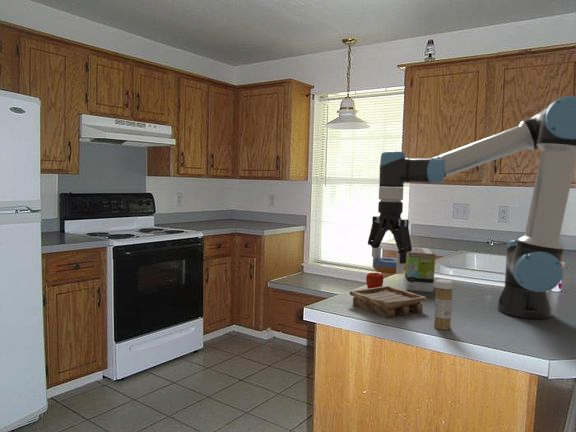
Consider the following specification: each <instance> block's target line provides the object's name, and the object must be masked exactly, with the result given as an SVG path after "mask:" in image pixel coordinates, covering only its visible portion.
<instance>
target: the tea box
mask: <svg viewBox="0 0 576 432" xmlns="http://www.w3.org/2000/svg"><path fill="white" fill-rule="evenodd" d="M404 267H405V268H404V284H405V289H406V291H414V292H427V293H430V292H431V293H432V292H434V287H435V286H434V285H435V283H434V282H435V269H436V268H435V267H436V253H435V252H434V251H433V249H431V248H423V247H412V251H411V252H407V253H406V263H404Z"/></svg>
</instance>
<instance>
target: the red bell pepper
mask: <svg viewBox="0 0 576 432" xmlns="http://www.w3.org/2000/svg"><path fill="white" fill-rule="evenodd" d="M365 282H366V286H367V288H366V289H369V288H376V287H383V284H384V275H383V273H381V272H369V273H367V274H366V280H365ZM379 292H380V291H379ZM372 293H373V292H372Z"/></svg>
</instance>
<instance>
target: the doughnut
mask: <svg viewBox="0 0 576 432" xmlns="http://www.w3.org/2000/svg"><path fill="white" fill-rule="evenodd" d="M396 260H397V257H396V258H395V257H385V256H384V257H383V256H381V258H377V259H375V260H374V261H373V260H372V268H373V270H374V271H376V272H377V273H381V274H396ZM404 269H405V266H404Z"/></svg>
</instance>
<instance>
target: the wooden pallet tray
mask: <svg viewBox="0 0 576 432" xmlns="http://www.w3.org/2000/svg"><path fill="white" fill-rule="evenodd" d="M379 291H380V292H379ZM372 292H373V293H372ZM349 296H352V305H353V306H355V307H357V308H361V309H363V310H366V311H368V312H371V313H373V314H375V315H379V316H380V317H383V316H384V318H386V319H389V320H390V318H391V319H395V314H397V313H398V314H397V315H400V314H401V315H400V316H402V317H403V316H404V317H406V316H405V315H407V316H409V315H410V311H411V312H413V313H416V314H420V313H423V307H424V305H423V304H421V303H422V302H426V301H427V296H423V295H420V294H417V293H415V292H414V293H413V292H410V291H408V290H403V289H400V288H397V287H394V286H390V285H385V286H383V285H382V287H376V288H369V289H368V288H363V289H356V290H350V291H349Z"/></svg>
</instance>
